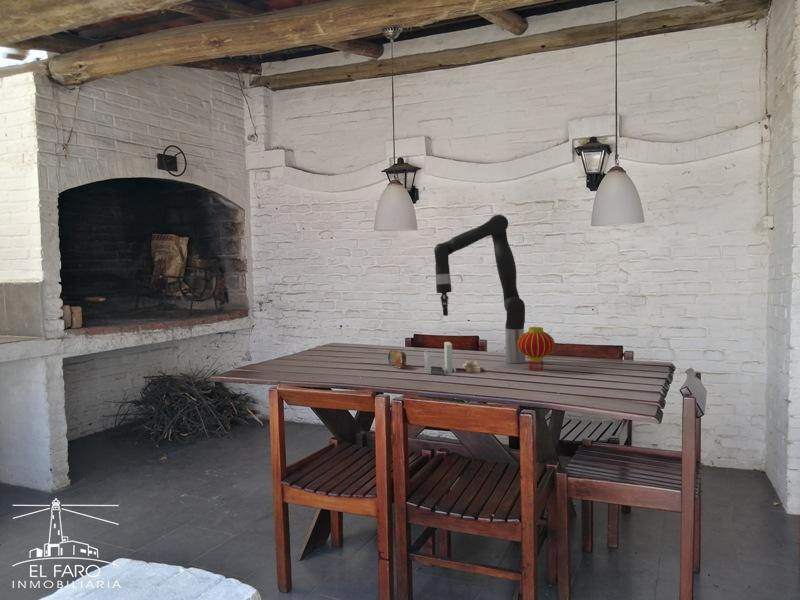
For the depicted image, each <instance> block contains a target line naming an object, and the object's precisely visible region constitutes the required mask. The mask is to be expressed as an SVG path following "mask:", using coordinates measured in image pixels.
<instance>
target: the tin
mask: <svg viewBox="0 0 800 600" xmlns="http://www.w3.org/2000/svg"><path fill="white" fill-rule="evenodd" d="M387 357H388V363H389V366H390V365H394V366H397V367H400V368H399V369H404V368H406V365H407V355H406V353H405V352H404V351H401V350H397V349H390V351H389V353H388V356H387Z"/></svg>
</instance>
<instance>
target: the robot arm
mask: <svg viewBox="0 0 800 600" xmlns="http://www.w3.org/2000/svg"><path fill="white" fill-rule="evenodd" d="M508 227H509V220H508V218H507V217H506V216H505V215H502V214H496V215H493V216H492V217H491V218H489V220H487V221H486V222H484V223H483V224H481V225H478V226H477V227H475V228H472V229H469V230H467V231H464V232H462V233H459V234H458V235H455V236H454V237H452V238H451V239H448V240H447V241H445V242H442V243H441V242H439V243H438V244H436V245H435V247H434V250H433V254H434V260H435V266H434V267H435V269H434V270H435V286H436V287H435V289H436V294H441V296H440V301H441V302H440V303H441V308H442V313H443V314H442V315H443V316H444V317H445V316H447V317H448V315H449V311H448V310H449V309H448V307H449V300H450V299H449V298H450V297H449V296H448V293H452V278H451V273H450V272H451V271H450V265H449V264H450V263H449V262H450V261H449V255H452V254H453V253H455V252H457V251H461V250H463V249H464V248H465V249H466V248H467V247H469V246H471V245H472V244H475V243H476V242H479V241H481V240H482V239H484V238H487V237H490V236H491V238H492V239H491V240H492V243H493V248H494V257H495V265H496V268H497V273H498V277H499V280H500V281H499V282H500V285H501V288H502V289H501V290H502V295H503V306H504V309H505V311H506V322H505V363H508V364H523V363H526V355H524V354H523V353H522V352H521V351H520V350H519V348H518V345H517V342H518V339H519V338H520V336H521V335H523V334H524V333H525V322H526V304H525V302H524V300H523V299H521V298H520V295H519V291H518V287H517V265H516V261H515V257H514V254H513V250H512V248H511V247H510V244H509V240H508V233H507V229H508Z"/></svg>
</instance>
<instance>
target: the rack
mask: <svg viewBox="0 0 800 600" xmlns="http://www.w3.org/2000/svg"><path fill="white" fill-rule="evenodd" d="M423 352H424V353H423V354H424V360H423V361H424V362H423V363H424V370H425V369H426V370H425V371H427V372H426V374H427V373H428V374H427V375H432V358H431V355H430V353H429V351H426V350H425V351H423ZM440 366H441V367H440V368H442V369H441V370H442V372H443V371H444V372H446V373H447V371H446V369H445V364H441V365H440ZM453 371H454V372H453ZM444 372H443V373H444ZM452 372H453V373H457V368H456V367H455V366H454V364H452Z"/></svg>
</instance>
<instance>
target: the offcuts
mask: <svg viewBox="0 0 800 600" xmlns="http://www.w3.org/2000/svg"><path fill="white" fill-rule="evenodd" d="M462 365H463V366H462V367H463V368H464V370H465V369H466V370H465V371H466V372H473V373H481V367H480V366H479V364H478V362H477V360H469V361H468V360H465V363H463V364H462Z"/></svg>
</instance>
